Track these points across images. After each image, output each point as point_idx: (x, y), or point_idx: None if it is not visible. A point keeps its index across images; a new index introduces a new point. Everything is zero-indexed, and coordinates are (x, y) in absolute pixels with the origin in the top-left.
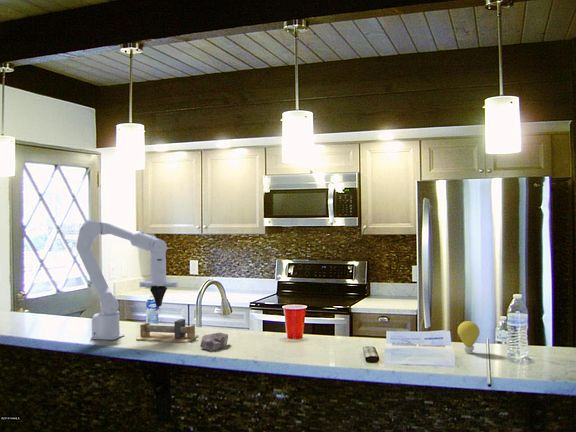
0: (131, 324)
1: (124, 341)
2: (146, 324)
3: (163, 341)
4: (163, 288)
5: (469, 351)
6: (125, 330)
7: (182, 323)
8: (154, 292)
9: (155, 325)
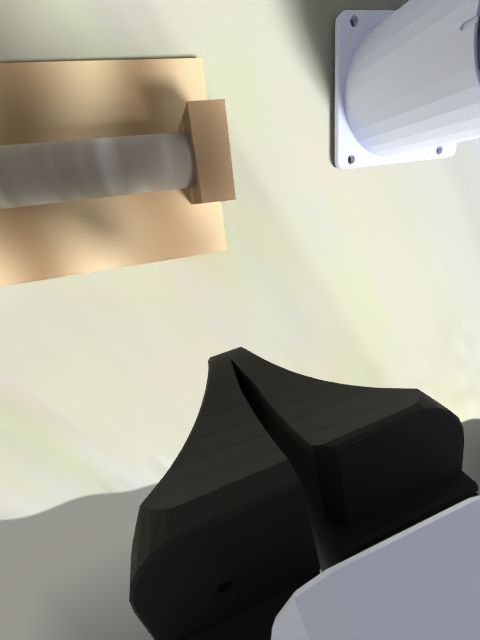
0: None
1: (249, 3)
2: (193, 146)
3: None
4: (131, 597)
5: None
6: (391, 292)
7: None
8: (316, 408)
9: (113, 162)
